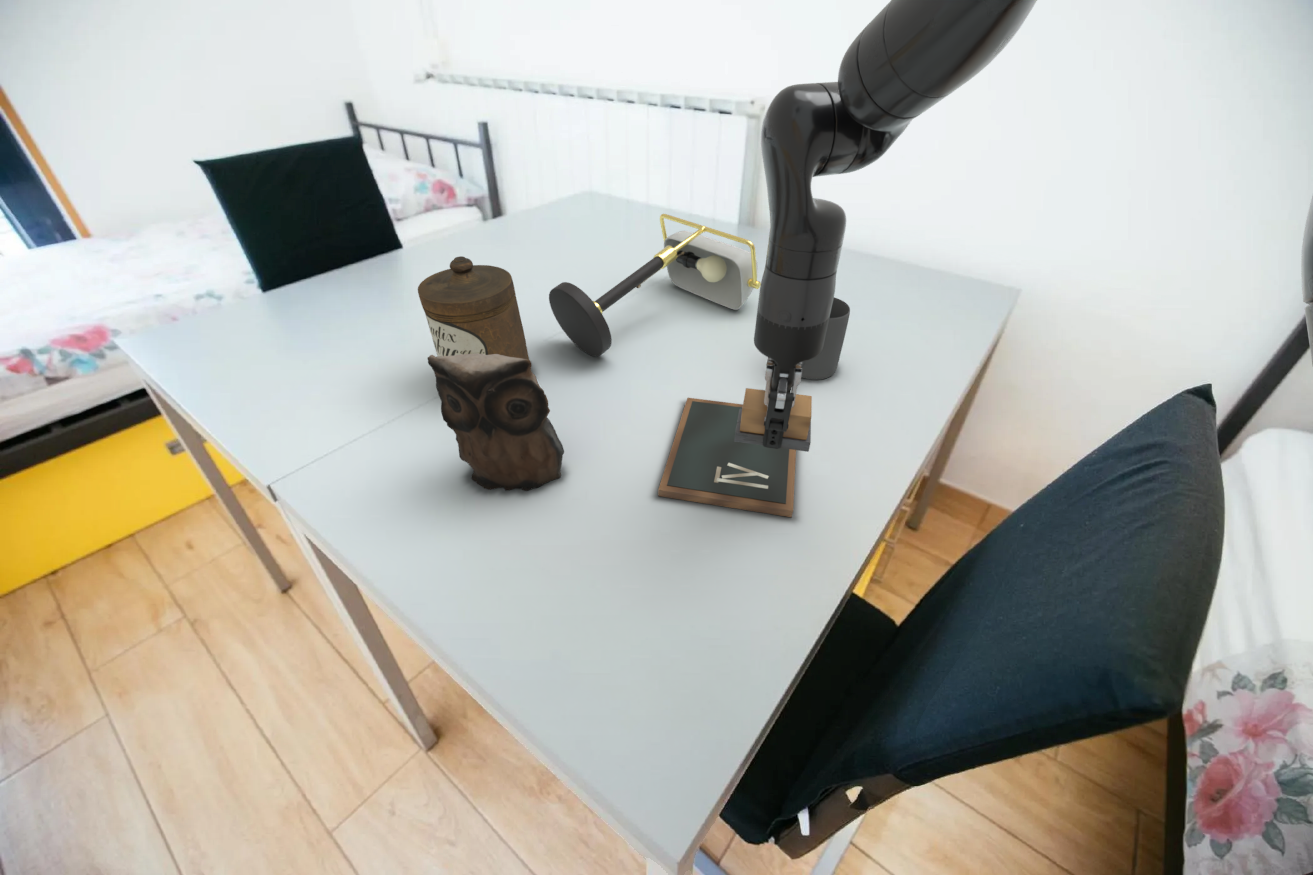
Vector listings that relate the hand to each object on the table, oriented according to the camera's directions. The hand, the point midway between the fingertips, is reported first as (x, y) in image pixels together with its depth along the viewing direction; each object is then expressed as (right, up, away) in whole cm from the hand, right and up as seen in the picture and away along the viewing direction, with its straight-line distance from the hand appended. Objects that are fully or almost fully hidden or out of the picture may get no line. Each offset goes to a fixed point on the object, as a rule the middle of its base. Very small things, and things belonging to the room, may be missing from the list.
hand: (773, 431), depth 68 cm
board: (-3, -3, +13) cm, 14 cm away
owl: (-34, -5, +12) cm, 37 cm away
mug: (+12, +11, +30) cm, 34 cm away
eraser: (0, 0, 0) cm, 0 cm away
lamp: (-15, +23, +45) cm, 53 cm away
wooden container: (-45, +10, +29) cm, 54 cm away
